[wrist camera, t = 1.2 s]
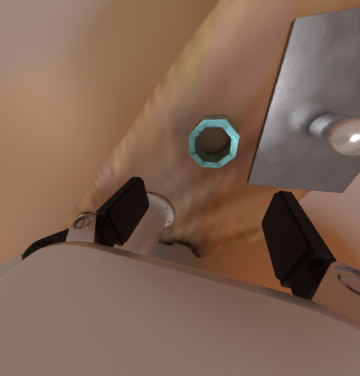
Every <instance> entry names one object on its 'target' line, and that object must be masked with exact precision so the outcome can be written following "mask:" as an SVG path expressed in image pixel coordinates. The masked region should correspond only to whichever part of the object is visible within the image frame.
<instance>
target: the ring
mask: <svg viewBox="0 0 360 376" xmlns="http://www.w3.org/2000/svg"><path fill="white" fill-rule="evenodd" d="M205 127H222V128H223V129H224V130H225V131H226V133H227V134H228V135H229V136H230V141H229V145H228V146H227V147H226V148H225V149H223V150H222V151H221V152H220V153H206V152H205V151H204V150H203V149H202V148H201V146H200V145H199V133H200V132H201V131H202V130H203V129H204V128H205ZM239 137H240V136H239V133H238V130H237V128H236V127H235V126H234V125H233V124H232V122H231V121H230V120H229V119H228V117H227V116H226V115H210V116H207V115H206V116H205V118H204V119H203V120H202V121H201V122H200V123H199V124H198V125H197V126H196V127H195V128H194V129H193V130H192V132H191V133H190V134H189V155H190V156H191V157H192V158H193V159H194V160H195V161H196V162H197V163H198V164H199V165H200V166H201V167H211V168H220V167H222V166H223V165H224V164H226V163H227V162H229V161H230V160H231V159H233V158H234V157H236V151H237V146H238V141H239Z"/></svg>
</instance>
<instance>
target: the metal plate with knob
mask: <svg viewBox="0 0 360 376" xmlns="http://www.w3.org/2000/svg"><path fill="white" fill-rule="evenodd" d="M359 172H360V7H358V8H353V9H347V10H341V11H336V12H330V13H324V14H319V15H313V16H307V17H302V18H296V19H295V20H294V21H293V22H292V24H291V28H290V31H289V35H288V38H287V42H286V46H285V49H284V53H283V56H282V60H281V63H280V67H279V70H278V74H277V78H276V81H275V85H274V88H273V92H272V95H271V99H270V102H269V106H268V110H267V113H266V117H265V120H264V124H263V127H262V131H261V134H260V138H259V141H258V145H257V149H256V152H255V156H254V159H253V163H252V166H251V170H250V173H249V177H248V181H247V183H248V184H249V185H260V186H271V187H281V188H292V189H303V190H314V191H325V192H336V193H343V192H344V191H345V189H346V188H347V187H348V186H349V185H350V183H351V182H352V181H353V180H354V179H355V177H356V176H357V175H358V174H359Z"/></svg>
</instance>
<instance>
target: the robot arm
mask: <svg viewBox="0 0 360 376" xmlns="http://www.w3.org/2000/svg"><path fill="white" fill-rule="evenodd" d="M96 212H97V215H96V216H95V215H94V214H92V213H89V214H84V215H82V216H80V217H78V218H76V219H75V220H74V221H73V222H72V223H71V225H70V228H69V229H66V230H64V231H61V232H58V233H56V234H53V235H50V236H48V237H45V238H43V239H40V240H38V241H36V242H34V243H33V244H32V245H31V246H30V247H28V249H27V250H26V251H25V252H24V254H19V255H18V256H16V257H14V258H12V259H10V260H8V261H7V262H5V263H3V264H1V265H0V376H360V269H359V268H357V267H355V266H353V265H351V264H348V263H345V262H339V261H336V259H335V258H334V256H333V255H332V253H331V252H330V250H329V249H328V247H327V245H326V244H325V242H324V241H323V239H322V238H321V236H320V235H319V233H318V232H317V230H316V229H315V227H314V226H313V224H312V222H311V221H310V219H309V218H308V217H307V215H306V214H305V212H304V210H303V209H302V207H301V206H300V204H299V203H298V201H297V200H296V198H295V197H294V195H293V194H292V192H286V191H279V192H278V193H275V194H274V196H273V198H272V200H271V203H270V205H269V207H268V209H267V211H266V214H265V216H264V218H263V220H262V228H263V232H264V236H265V239H266V243H267V247H268V250H269V253H270V258H271V261H272V265H273V269H274V272H275V276H276V278H277V279H279V280H280V283H281V286H282V287H287V288H291V290H292V293H293V295H291V294H288V293H285V292H281V291H277V290H274V289H271V288H267V287H263V286H259V285H256V284H253V283H249V282H245V281H241V280H238V279H234V278H230V277H226V276H222V275H219V274H215V273H211V272H207V271H204V270H200V269H196V268H192V267H188V266H184V265H180V264H177V263H172V262H169V261H165V260H161V259H157V258H153V257H151V256H152V253H153V251H154V249H155V247H156V244H157V242H158V240H159V238H160V235H161V233H162V231H163V229H164V227H166V226H168V225H170V224H171V223H172V222H173V219H174V216H175V214H174V210H173V208H172V206H171V205H170V204H169V202H167V201H166V200H165V199H164V198H162V197H161V196H158V195H156V194H153V193H146V189H145V185H144V182H143V180H142V179H141V178H140V177H132V178H131V179H130V180H129V181H128V182H127V183H126V184H125V185H124V186H122V187H121V188H120V189H119V190H118V191H117V192H116V193H115V194H114V195H113V196H112V197H111V198H110V199H109V200H108V201H107V202H106V203H104V204H103V205H102V206H101V207H100V208H99V209H98V210H97V211H96Z"/></svg>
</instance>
